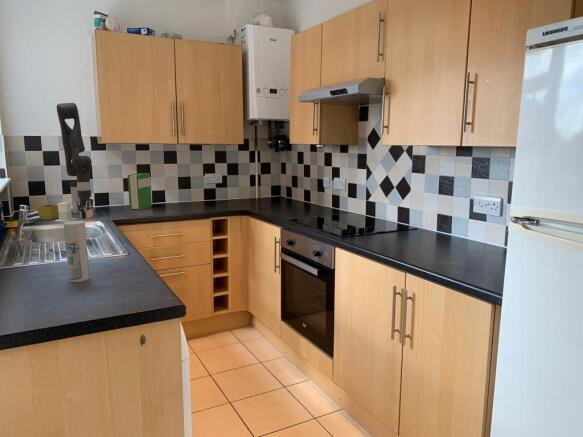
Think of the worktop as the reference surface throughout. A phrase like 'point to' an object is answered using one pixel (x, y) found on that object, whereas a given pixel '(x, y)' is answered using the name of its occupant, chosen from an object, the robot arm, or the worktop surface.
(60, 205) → the cream brick
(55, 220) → the birch board
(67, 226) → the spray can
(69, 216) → the sage brick
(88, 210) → the coral brick
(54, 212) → the flower pot
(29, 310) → the worktop surface
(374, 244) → the worktop surface
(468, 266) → the worktop surface
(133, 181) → the hardback book
